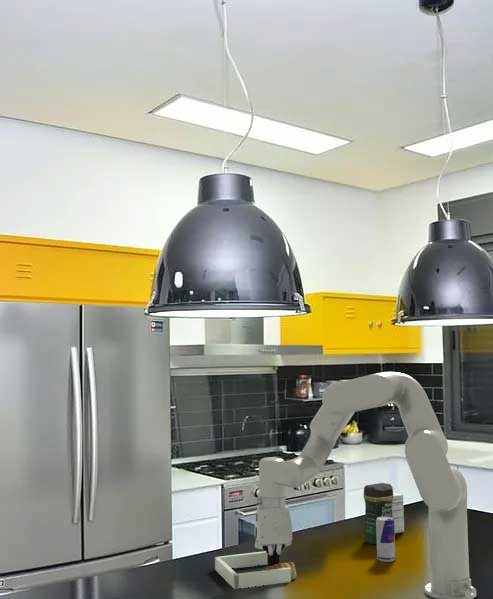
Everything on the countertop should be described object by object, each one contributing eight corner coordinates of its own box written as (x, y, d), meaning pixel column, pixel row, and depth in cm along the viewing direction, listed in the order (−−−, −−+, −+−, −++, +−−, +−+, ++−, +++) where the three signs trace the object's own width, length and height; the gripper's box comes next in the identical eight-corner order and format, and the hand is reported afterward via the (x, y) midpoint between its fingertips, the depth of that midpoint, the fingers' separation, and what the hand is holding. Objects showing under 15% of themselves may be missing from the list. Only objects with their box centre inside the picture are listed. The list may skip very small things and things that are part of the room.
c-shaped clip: (290, 581, 191) (290, 568, 191) (234, 589, 185) (234, 575, 186) (267, 563, 208) (266, 551, 208) (214, 569, 203) (214, 557, 203)
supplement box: (374, 529, 244) (373, 492, 245) (391, 527, 247) (390, 490, 248) (387, 534, 238) (386, 496, 238) (405, 532, 241) (403, 494, 242)
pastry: (264, 582, 191) (264, 567, 191) (259, 574, 197) (259, 560, 197) (298, 579, 192) (297, 565, 192) (292, 572, 199) (292, 558, 199)
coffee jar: (377, 547, 223) (375, 487, 224) (360, 541, 229) (358, 483, 231) (399, 542, 228) (397, 483, 230) (382, 536, 235) (380, 480, 236)
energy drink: (395, 562, 206) (394, 520, 207) (377, 561, 207) (375, 520, 208) (395, 557, 211) (394, 516, 212) (377, 556, 212) (376, 516, 213)
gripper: (251, 506, 195) (252, 575, 193) (302, 502, 199) (303, 569, 198) (243, 501, 202) (244, 567, 201) (292, 497, 207) (293, 561, 205)
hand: (273, 567), depth 199 cm, fingers closed
